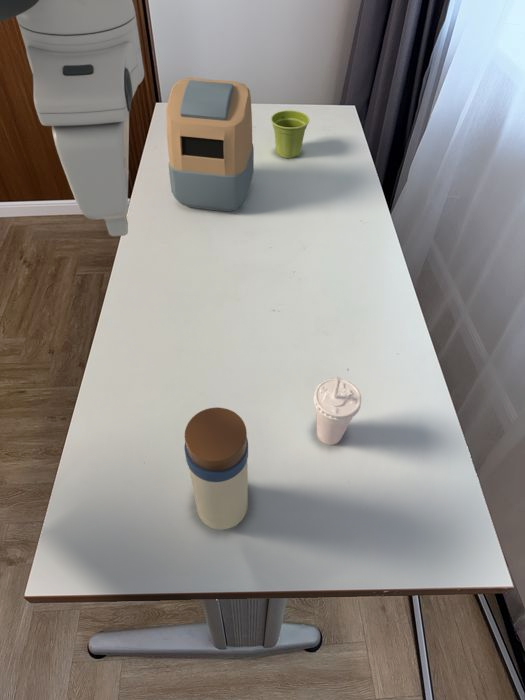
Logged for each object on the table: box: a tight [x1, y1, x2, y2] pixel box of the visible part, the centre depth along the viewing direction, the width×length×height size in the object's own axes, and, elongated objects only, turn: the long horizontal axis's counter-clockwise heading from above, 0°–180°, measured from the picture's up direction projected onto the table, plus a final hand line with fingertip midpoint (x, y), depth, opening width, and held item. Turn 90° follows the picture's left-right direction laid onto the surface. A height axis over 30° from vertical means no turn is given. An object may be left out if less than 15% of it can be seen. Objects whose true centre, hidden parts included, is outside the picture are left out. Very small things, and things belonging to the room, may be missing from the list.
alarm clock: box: [165, 77, 255, 212], centre depth 107 cm, size 17×17×23 cm
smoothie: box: [313, 376, 362, 446], centre depth 70 cm, size 6×6×14 cm
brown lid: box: [184, 407, 248, 472], centre depth 54 cm, size 7×7×2 cm
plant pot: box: [270, 109, 310, 159], centre depth 125 cm, size 9×9×9 cm
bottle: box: [183, 439, 249, 531], centre depth 61 cm, size 7×7×16 cm
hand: (120, 203), depth 52 cm, fingers open, 8 cm apart
